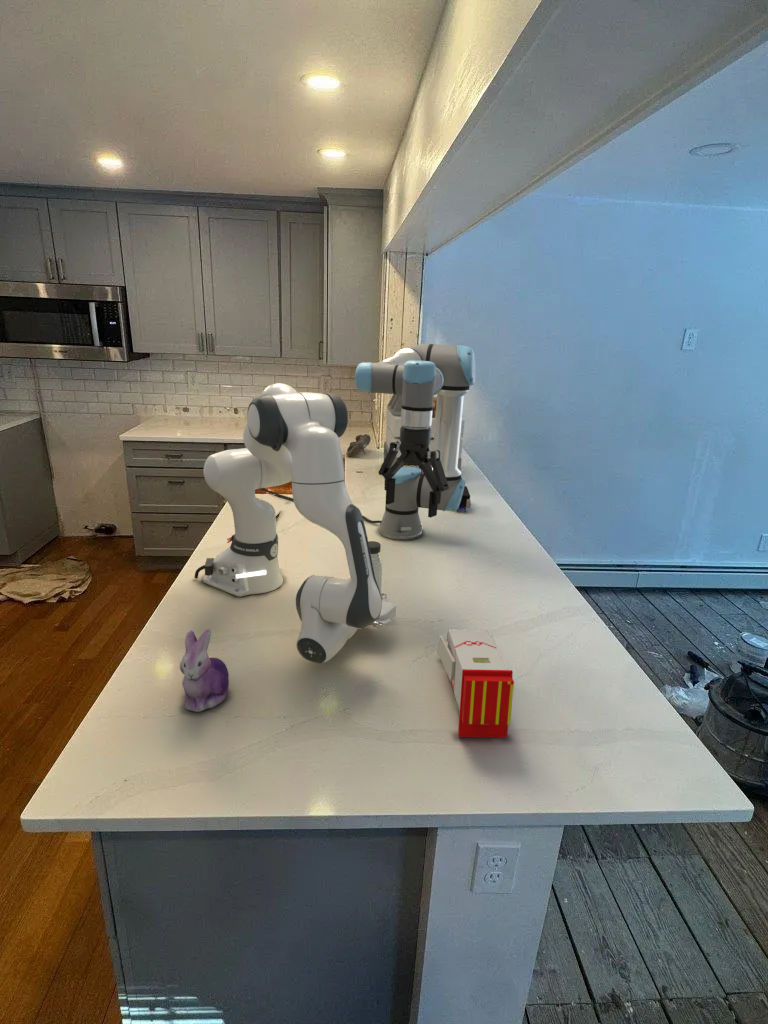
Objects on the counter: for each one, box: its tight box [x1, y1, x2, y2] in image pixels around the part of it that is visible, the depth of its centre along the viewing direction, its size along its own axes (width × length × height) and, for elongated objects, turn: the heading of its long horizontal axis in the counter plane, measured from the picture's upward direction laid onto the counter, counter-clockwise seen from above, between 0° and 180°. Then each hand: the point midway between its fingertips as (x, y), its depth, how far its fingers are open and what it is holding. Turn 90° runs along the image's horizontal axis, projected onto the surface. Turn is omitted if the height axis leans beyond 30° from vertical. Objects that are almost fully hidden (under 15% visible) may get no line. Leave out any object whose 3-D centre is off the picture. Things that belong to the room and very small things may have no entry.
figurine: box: [179, 628, 230, 713], centre depth 110 cm, size 9×10×15 cm
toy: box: [437, 628, 515, 738], centre depth 117 cm, size 12×13×30 cm
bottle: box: [371, 553, 383, 593], centre depth 146 cm, size 5×5×18 cm
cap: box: [368, 540, 381, 554], centre depth 143 cm, size 4×4×2 cm
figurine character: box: [456, 485, 472, 513], centre depth 228 cm, size 7×8×15 cm
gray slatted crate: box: [383, 394, 465, 472], centre depth 268 cm, size 34×33×41 cm
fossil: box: [346, 433, 372, 458], centre depth 305 cm, size 22×10×15 cm
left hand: (367, 592), depth 145 cm, fingers open, 8 cm apart
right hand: (410, 509), depth 144 cm, fingers open, 13 cm apart
